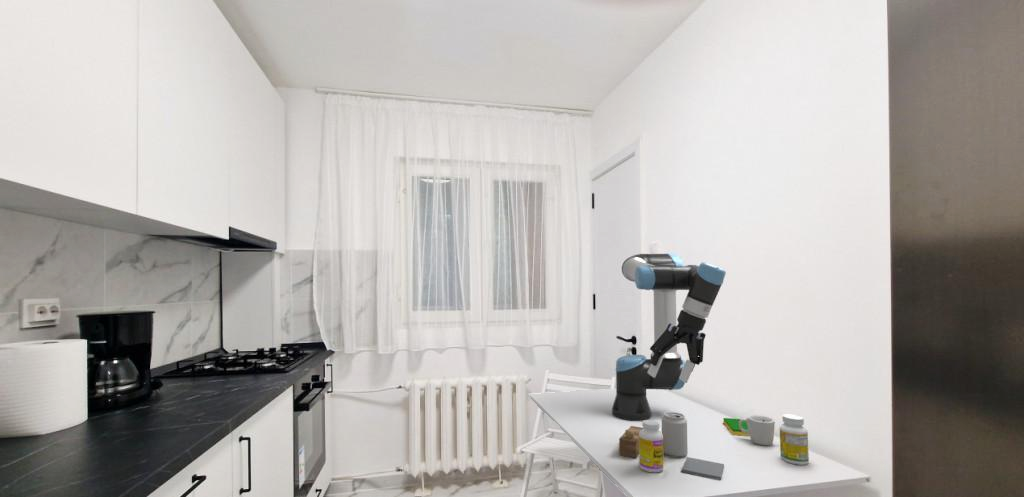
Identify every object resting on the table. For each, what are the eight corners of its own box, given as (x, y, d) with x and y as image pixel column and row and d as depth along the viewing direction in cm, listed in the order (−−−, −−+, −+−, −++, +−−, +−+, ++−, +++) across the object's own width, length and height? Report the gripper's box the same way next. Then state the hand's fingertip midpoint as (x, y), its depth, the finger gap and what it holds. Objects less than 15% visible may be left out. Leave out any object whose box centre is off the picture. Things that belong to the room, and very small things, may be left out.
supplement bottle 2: (807, 467, 127) (805, 421, 128) (778, 461, 131) (776, 416, 132) (810, 460, 132) (808, 416, 133) (783, 454, 137) (781, 411, 138)
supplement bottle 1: (654, 475, 121) (653, 427, 122) (634, 467, 126) (633, 421, 127) (668, 469, 125) (667, 423, 126) (649, 461, 130) (648, 417, 131)
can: (690, 459, 132) (689, 418, 133) (663, 457, 133) (663, 416, 134) (685, 450, 139) (684, 411, 140) (660, 448, 141) (659, 410, 142)
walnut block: (631, 441, 147) (631, 419, 148) (646, 444, 145) (646, 422, 145) (619, 455, 135) (619, 431, 135) (635, 458, 132) (635, 434, 133)
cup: (735, 441, 148) (735, 416, 149) (743, 435, 154) (742, 411, 154) (772, 449, 141) (771, 423, 141) (778, 443, 146) (777, 418, 147)
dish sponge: (733, 436, 154) (732, 429, 154) (723, 424, 167) (723, 417, 167) (755, 438, 152) (755, 431, 152) (743, 425, 166) (743, 419, 166)
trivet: (687, 459, 132) (687, 457, 132) (724, 466, 127) (723, 463, 127) (681, 472, 123) (681, 469, 123) (721, 480, 118) (721, 477, 118)
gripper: (673, 310, 122) (645, 379, 125) (731, 326, 133) (704, 389, 136) (655, 301, 129) (629, 366, 131) (711, 316, 140) (686, 376, 142)
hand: (667, 378), depth 133 cm, fingers open, 13 cm apart
